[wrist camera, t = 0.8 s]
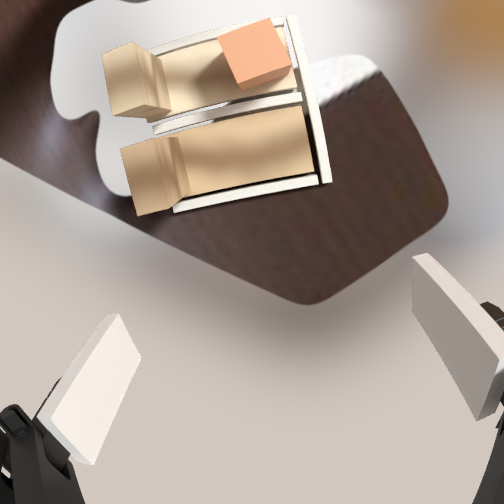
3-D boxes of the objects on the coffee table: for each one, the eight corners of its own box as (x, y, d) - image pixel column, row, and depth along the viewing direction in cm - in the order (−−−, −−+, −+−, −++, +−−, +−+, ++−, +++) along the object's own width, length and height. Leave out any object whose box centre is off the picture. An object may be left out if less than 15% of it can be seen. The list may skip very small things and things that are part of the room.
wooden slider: (139, 66, 29) (100, 50, 21) (281, 30, 27) (286, -3, 19) (151, 122, 32) (113, 121, 23) (296, 88, 30) (306, 72, 21)
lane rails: (140, 55, 29) (137, 53, 28) (294, 17, 27) (295, 14, 26) (176, 210, 35) (173, 212, 34) (330, 180, 33) (332, 181, 32)
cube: (223, 50, 27) (216, 36, 23) (269, 33, 27) (269, 17, 22) (242, 91, 29) (237, 83, 24) (288, 74, 28) (291, 64, 23)
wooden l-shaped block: (154, 139, 32) (118, 143, 24) (300, 106, 30) (312, 96, 22) (169, 199, 35) (139, 221, 26) (312, 170, 33) (328, 183, 24)
